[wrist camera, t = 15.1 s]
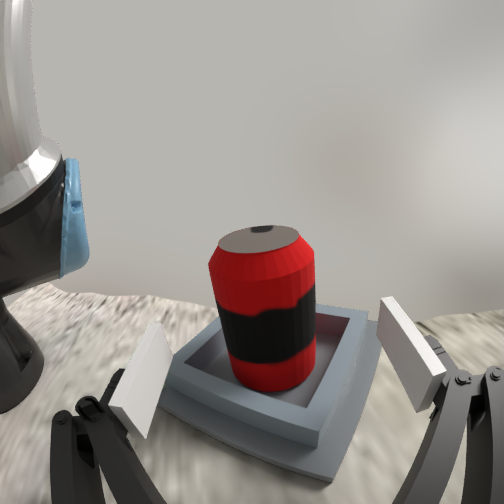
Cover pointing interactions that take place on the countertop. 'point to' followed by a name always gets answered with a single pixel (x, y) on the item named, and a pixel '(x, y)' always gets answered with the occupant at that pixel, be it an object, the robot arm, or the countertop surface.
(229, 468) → the countertop surface
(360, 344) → the dock
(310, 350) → the soda can
